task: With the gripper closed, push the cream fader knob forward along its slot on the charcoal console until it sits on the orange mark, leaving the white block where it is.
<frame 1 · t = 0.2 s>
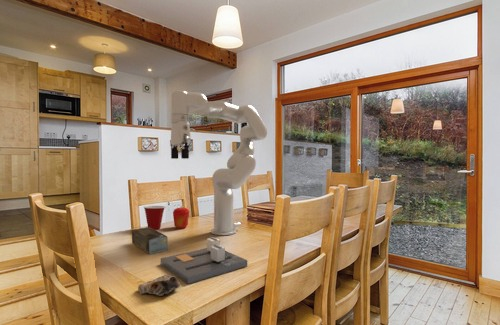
hand: (179, 158, 123), 36 cm above the table, tool pointing down, fingers open, 9 cm apart
white block: (217, 252, 94), point 5 cm above the table, slide at 4.0 cm
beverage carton: (149, 247, 115), on the table
console: (203, 265, 95), on the table
plastic cup: (154, 229, 145), on the table
rock: (158, 292, 76), on the table
fader cream: (213, 244, 103), point 5 cm above the table, slide at 0.0 cm
apple: (181, 228, 148), on the table
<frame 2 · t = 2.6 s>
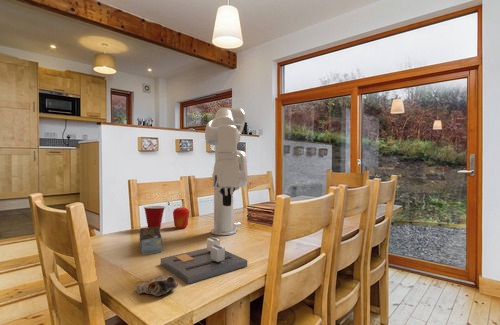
hand: (226, 205, 107), 18 cm above the table, tool pointing down, fingers closed
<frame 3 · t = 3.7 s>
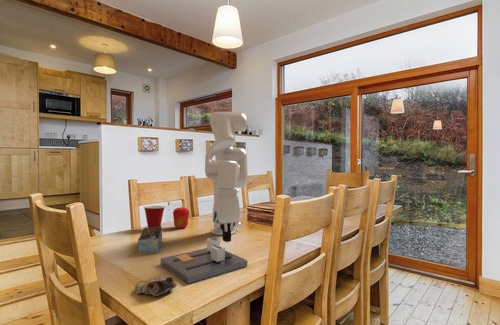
hand: (226, 241, 106), 5 cm above the table, tool pointing down, fingers closed
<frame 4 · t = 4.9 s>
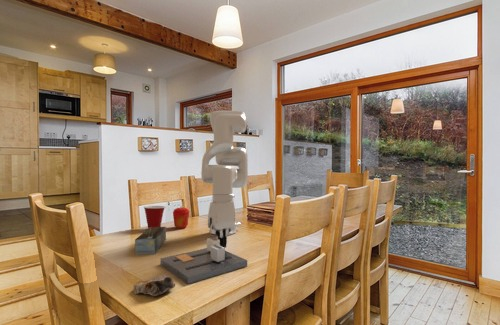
hand: (222, 246, 106), 3 cm above the table, tool pointing down, fingers closed
fader cream: (213, 244, 103), point 5 cm above the table, slide at 0.0 cm, touching gripper
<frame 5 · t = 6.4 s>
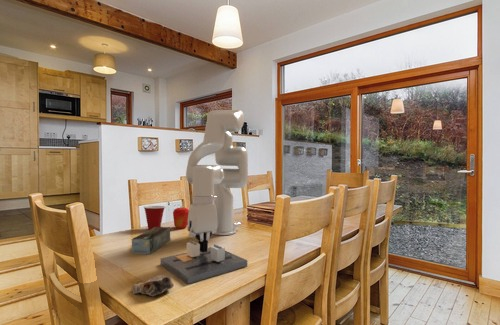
hand: (203, 251, 100), 3 cm above the table, tool pointing down, fingers closed
fader cream: (193, 248, 98), point 5 cm above the table, slide at 8.3 cm, touching gripper
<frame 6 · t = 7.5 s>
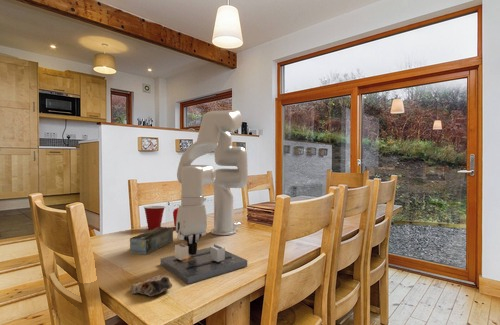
hand: (192, 253, 98), 3 cm above the table, tool pointing down, fingers closed
fader cream: (181, 250, 95), point 5 cm above the table, slide at 12.7 cm, touching gripper
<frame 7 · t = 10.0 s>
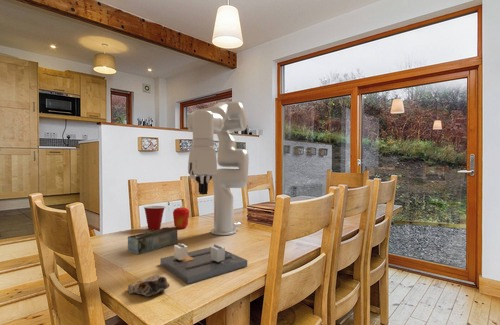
hand: (203, 194, 103), 23 cm above the table, tool pointing down, fingers closed
fader cream: (180, 251, 95), point 5 cm above the table, slide at 13.0 cm
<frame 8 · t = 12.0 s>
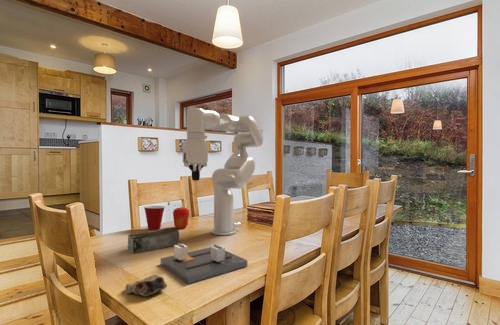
hand: (195, 180, 120), 27 cm above the table, tool pointing down, fingers closed
at the end: fader cream slide at 13.0 cm; white block slide at 4.0 cm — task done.
